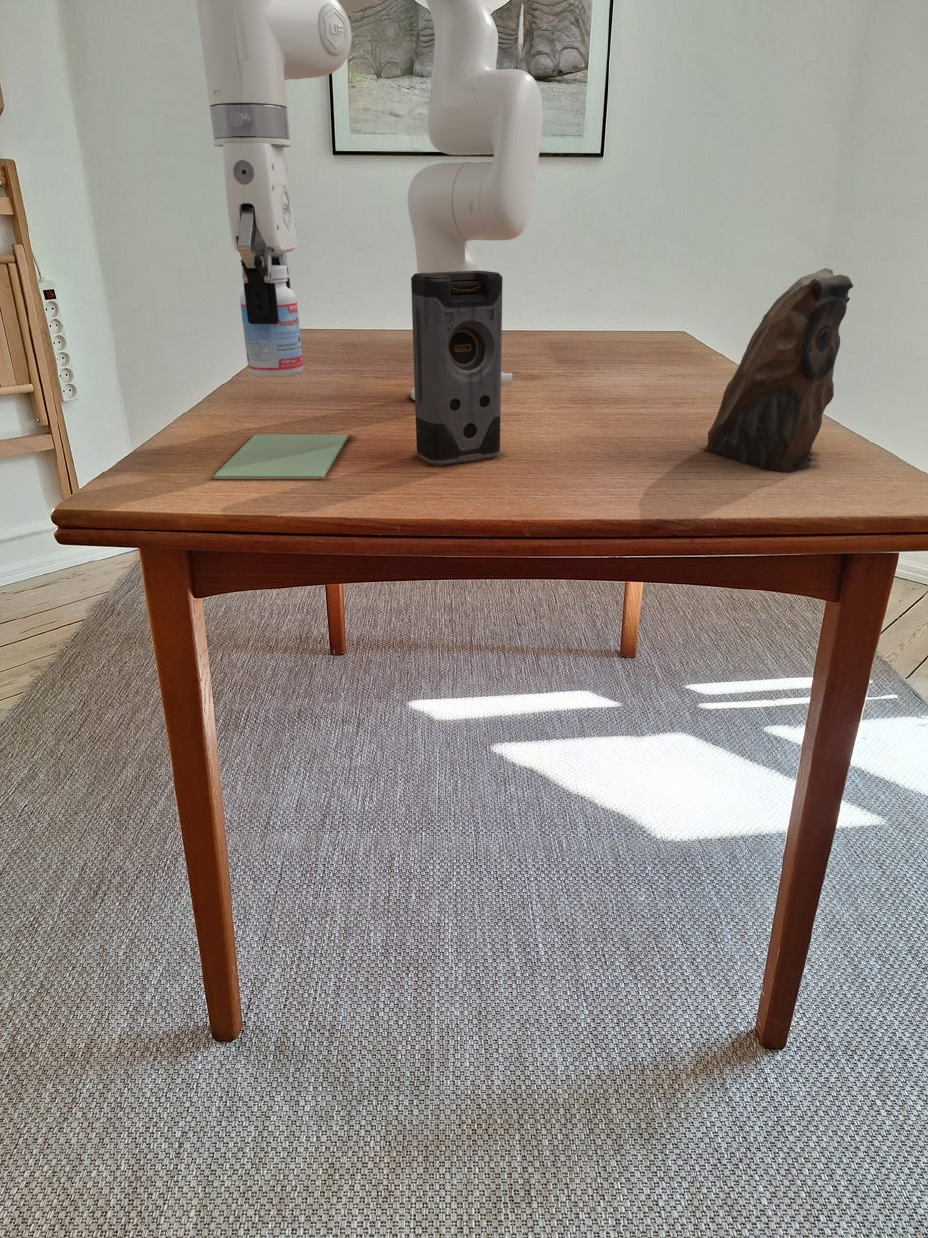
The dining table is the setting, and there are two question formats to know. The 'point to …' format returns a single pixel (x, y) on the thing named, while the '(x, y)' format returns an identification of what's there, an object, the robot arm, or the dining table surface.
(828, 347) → the owl
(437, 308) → the electronic device
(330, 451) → the side mat
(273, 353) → the pill bottle
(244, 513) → the dining table surface
